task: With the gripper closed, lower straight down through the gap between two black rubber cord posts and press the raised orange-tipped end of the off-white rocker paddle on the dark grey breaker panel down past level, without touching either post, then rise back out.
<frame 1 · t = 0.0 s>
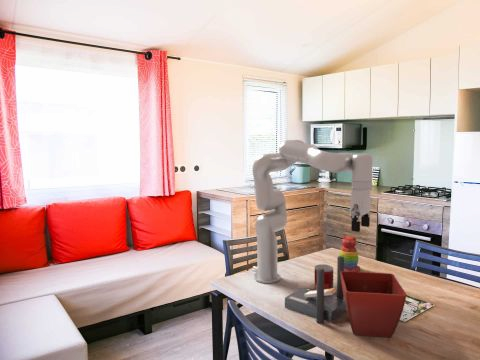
hand: (360, 228, 145), 31 cm above the table, fingers open, 9 cm apart
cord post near: (320, 322, 135), on the table
breaker panel: (315, 308, 146), on the table
paddle: (319, 292, 144), point 7 cm above the table, hinge at -20.0°
canned food: (323, 291, 162), on the table
plant pot: (369, 328, 131), on the table
stacking bear: (348, 270, 187), on the table
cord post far: (340, 305, 148), on the table
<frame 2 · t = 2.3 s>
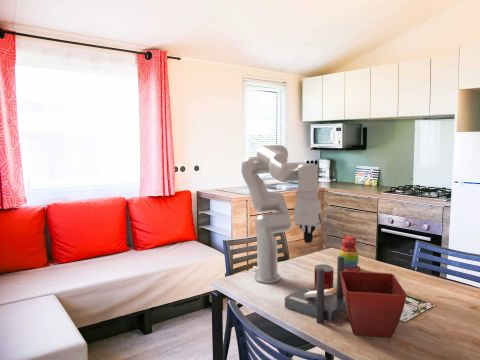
hand: (308, 241, 144), 27 cm above the table, fingers closed
nothing on the table moved.
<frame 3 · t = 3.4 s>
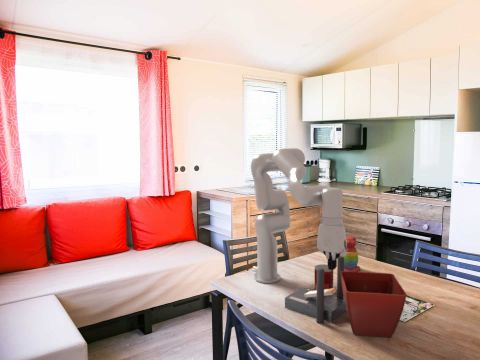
hand: (332, 268, 139), 18 cm above the table, fingers closed
nothing on the table moved.
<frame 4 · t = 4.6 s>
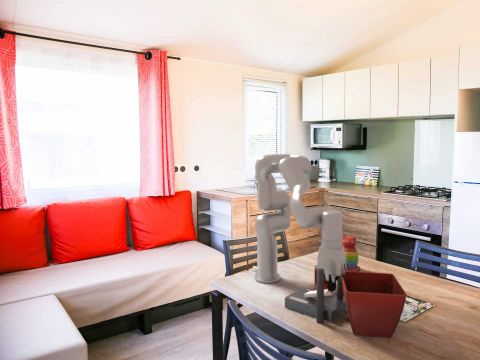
hand: (331, 290, 140), 9 cm above the table, fingers closed
paddle: (319, 292, 144), point 7 cm above the table, hinge at -19.5°, touching gripper
plant pot: (369, 328, 131), on the table, touching gripper
everything else where it was.
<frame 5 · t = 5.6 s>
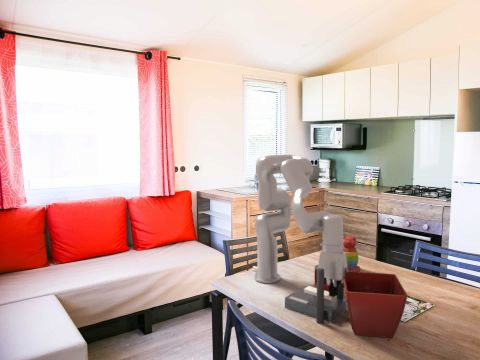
hand: (333, 295, 140), 8 cm above the table, fingers closed
paddle: (320, 292, 143), point 7 cm above the table, hinge at 0.8°, touching gripper
plant pot: (370, 328, 131), on the table
everything else where it was.
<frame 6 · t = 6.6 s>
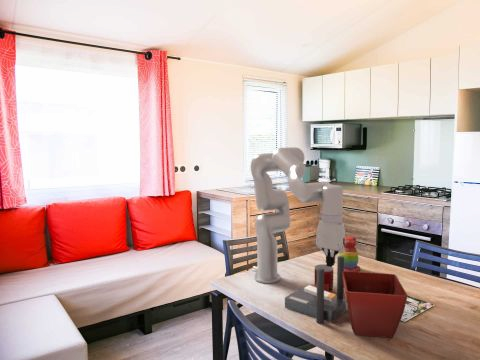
hand: (330, 265, 140), 19 cm above the table, fingers closed
paddle: (320, 292, 143), point 7 cm above the table, hinge at 5.1°
everything else where it was.
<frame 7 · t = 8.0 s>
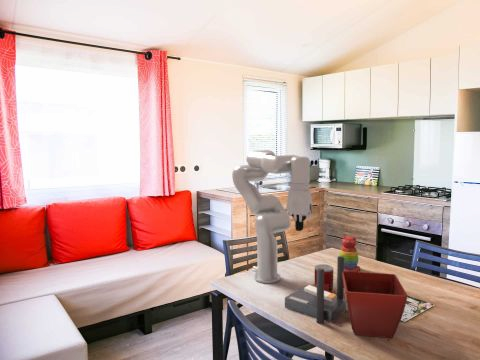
hand: (299, 230, 154), 29 cm above the table, fingers closed
paddle: (320, 292, 143), point 7 cm above the table, hinge at 5.6°
everything else where it was.
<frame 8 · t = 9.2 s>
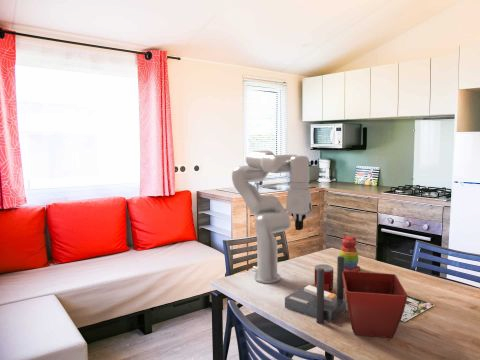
hand: (299, 229, 154), 29 cm above the table, fingers closed
nothing on the table moved.
at the end: paddle at +6° (first picture: -20°); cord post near tilted 0°; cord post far tilted 0° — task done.
